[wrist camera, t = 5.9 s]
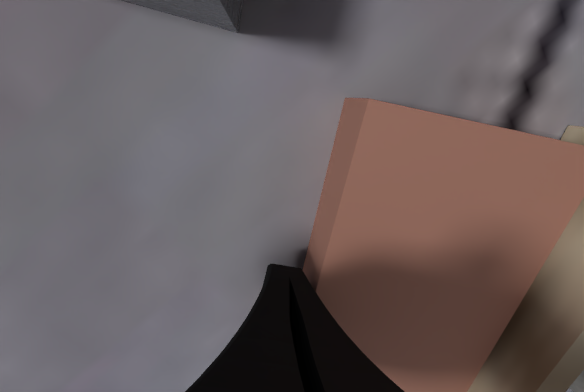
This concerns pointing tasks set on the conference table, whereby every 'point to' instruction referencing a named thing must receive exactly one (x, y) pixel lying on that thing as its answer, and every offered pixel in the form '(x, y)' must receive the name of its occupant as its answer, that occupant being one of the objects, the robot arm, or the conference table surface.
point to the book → (435, 235)
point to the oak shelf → (545, 320)
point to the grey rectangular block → (200, 10)
